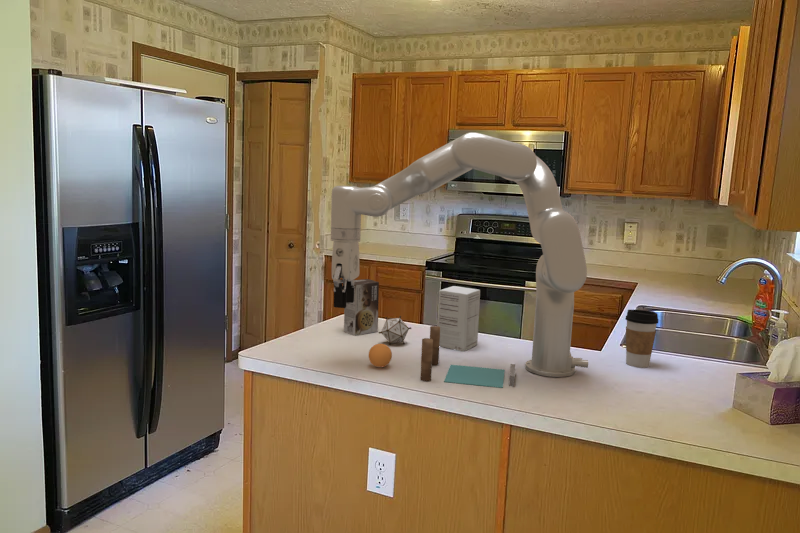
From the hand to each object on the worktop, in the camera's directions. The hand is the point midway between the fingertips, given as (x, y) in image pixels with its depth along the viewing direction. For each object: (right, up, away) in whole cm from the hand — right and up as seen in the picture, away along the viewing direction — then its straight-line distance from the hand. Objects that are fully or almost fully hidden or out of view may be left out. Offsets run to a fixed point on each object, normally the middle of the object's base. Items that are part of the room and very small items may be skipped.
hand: (343, 304), depth 157 cm
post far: (+23, -16, +4) cm, 29 cm away
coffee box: (+2, -11, +35) cm, 37 cm away
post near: (+21, -18, -9) cm, 29 cm away
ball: (+9, -13, 0) cm, 16 cm away
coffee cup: (+80, -17, +11) cm, 82 cm away
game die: (+13, -13, +23) cm, 29 cm away
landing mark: (+33, -18, -4) cm, 38 cm away
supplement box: (+31, -14, +23) cm, 41 cm away
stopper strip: (+42, -18, -6) cm, 46 cm away
